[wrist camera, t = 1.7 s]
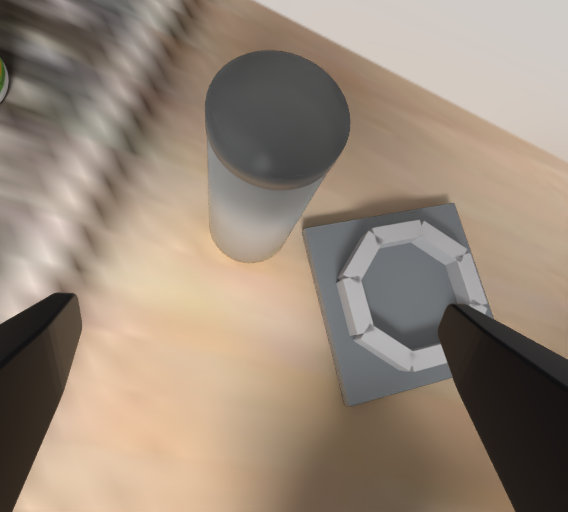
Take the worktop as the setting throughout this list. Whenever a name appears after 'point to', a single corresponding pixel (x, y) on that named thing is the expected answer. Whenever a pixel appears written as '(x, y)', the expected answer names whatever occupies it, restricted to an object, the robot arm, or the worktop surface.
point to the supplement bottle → (3, 80)
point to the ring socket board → (391, 296)
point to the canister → (268, 148)
